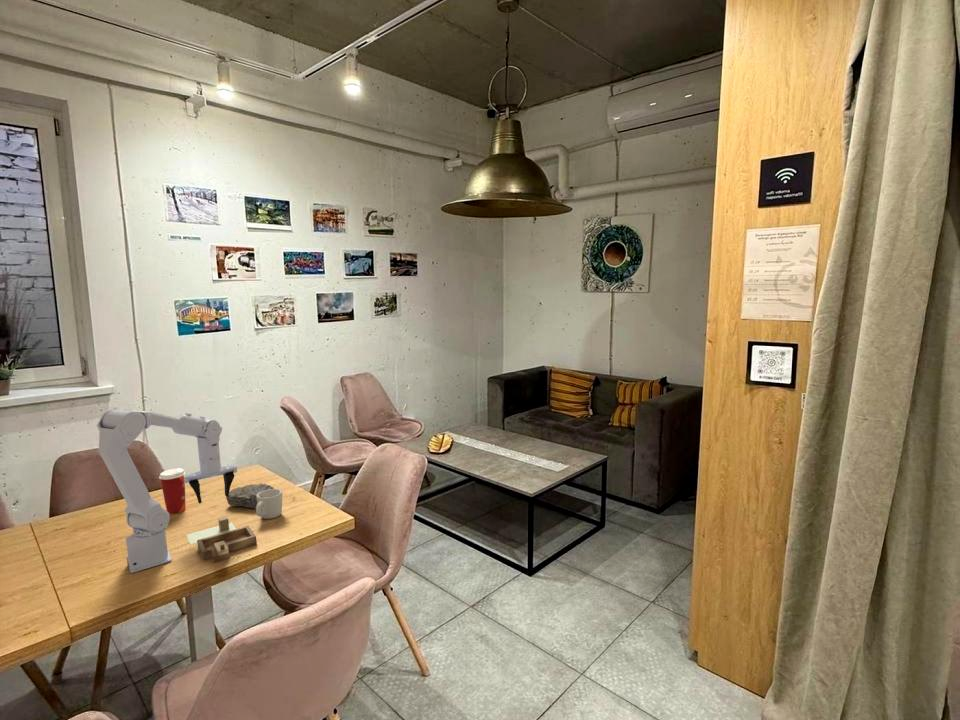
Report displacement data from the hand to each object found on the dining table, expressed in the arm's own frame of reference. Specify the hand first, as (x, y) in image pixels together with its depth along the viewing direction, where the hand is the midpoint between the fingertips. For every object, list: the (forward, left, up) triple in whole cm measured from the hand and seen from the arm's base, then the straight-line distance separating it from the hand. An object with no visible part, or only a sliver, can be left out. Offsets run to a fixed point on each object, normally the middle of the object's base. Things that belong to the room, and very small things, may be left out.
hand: (213, 499), depth 157 cm
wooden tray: (0, -16, -10) cm, 19 cm away
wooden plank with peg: (-3, -23, -7) cm, 24 cm away
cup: (+15, -3, -10) cm, 18 cm away
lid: (-2, -2, -10) cm, 11 cm away
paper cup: (-8, +25, -10) cm, 28 cm away
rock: (+15, +14, -10) cm, 23 cm away
